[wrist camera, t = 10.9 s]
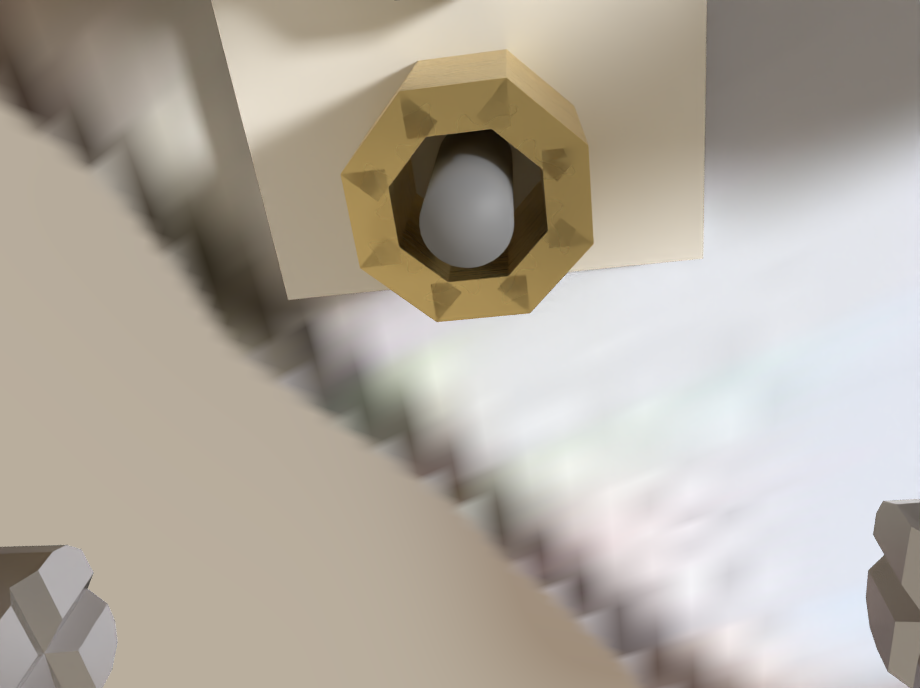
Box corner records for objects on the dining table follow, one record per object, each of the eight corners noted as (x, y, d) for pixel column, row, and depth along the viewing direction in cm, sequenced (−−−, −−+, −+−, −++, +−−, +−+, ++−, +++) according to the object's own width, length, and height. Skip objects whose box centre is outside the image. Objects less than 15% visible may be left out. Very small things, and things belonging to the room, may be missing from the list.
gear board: (694, 242, 23) (752, 343, 18) (297, 283, 24) (237, 388, 19) (699, -381, 16) (794, -530, 11) (157, -281, 18) (2, -369, 12)
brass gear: (569, 40, 19) (584, 67, 16) (582, 244, 22) (597, 306, 18) (356, 68, 20) (325, 100, 16) (393, 264, 23) (372, 328, 19)
